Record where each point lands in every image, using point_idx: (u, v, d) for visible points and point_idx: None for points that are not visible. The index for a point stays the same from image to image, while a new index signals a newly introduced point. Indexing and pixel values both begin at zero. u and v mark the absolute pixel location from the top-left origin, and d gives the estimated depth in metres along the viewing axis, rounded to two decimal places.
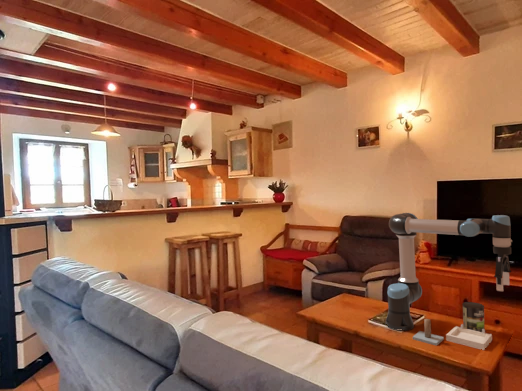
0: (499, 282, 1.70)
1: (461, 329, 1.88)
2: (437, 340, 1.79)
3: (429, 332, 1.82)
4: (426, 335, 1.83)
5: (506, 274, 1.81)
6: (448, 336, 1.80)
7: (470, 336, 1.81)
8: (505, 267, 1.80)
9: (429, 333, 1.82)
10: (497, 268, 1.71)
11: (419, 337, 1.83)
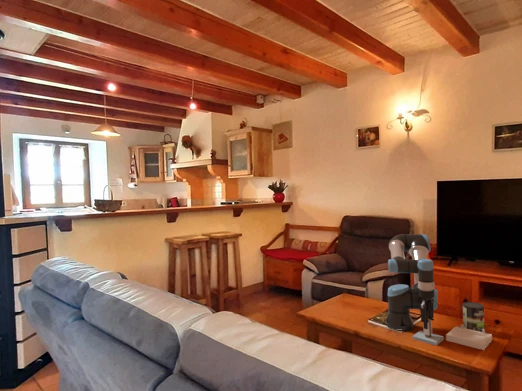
0: (425, 327, 1.81)
1: (461, 329, 1.88)
2: (437, 339, 1.79)
3: (429, 331, 1.82)
4: None
5: None
6: (448, 336, 1.80)
7: (470, 336, 1.81)
8: (428, 313, 1.84)
9: (429, 332, 1.82)
10: (422, 314, 1.80)
11: (419, 336, 1.83)
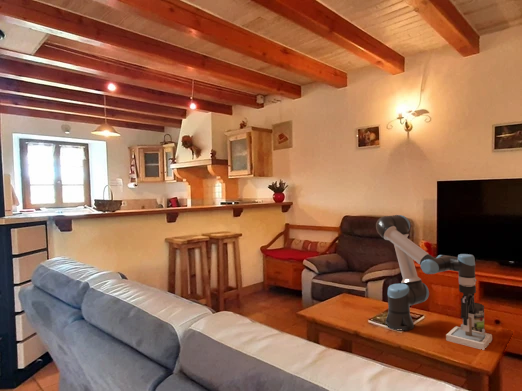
0: (465, 323, 1.76)
1: (461, 329, 1.88)
2: (479, 338, 1.76)
3: (470, 330, 1.79)
4: (467, 333, 1.79)
5: (471, 316, 1.83)
6: (448, 336, 1.80)
7: None
8: (470, 307, 1.82)
9: (470, 331, 1.79)
10: (462, 309, 1.76)
11: (460, 335, 1.80)
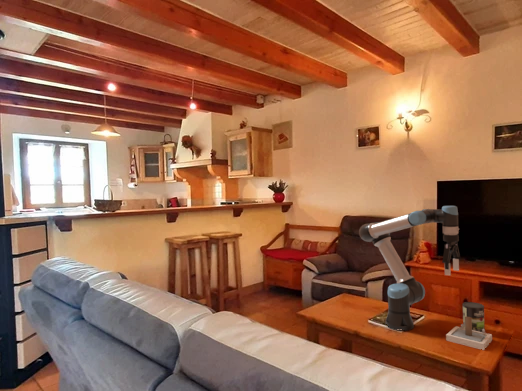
0: (446, 267, 1.85)
1: (461, 329, 1.88)
2: (479, 338, 1.76)
3: (470, 330, 1.79)
4: (467, 333, 1.79)
5: (456, 260, 1.95)
6: (448, 336, 1.80)
7: None
8: (455, 254, 1.94)
9: (470, 331, 1.79)
10: (445, 254, 1.85)
11: (460, 335, 1.80)
